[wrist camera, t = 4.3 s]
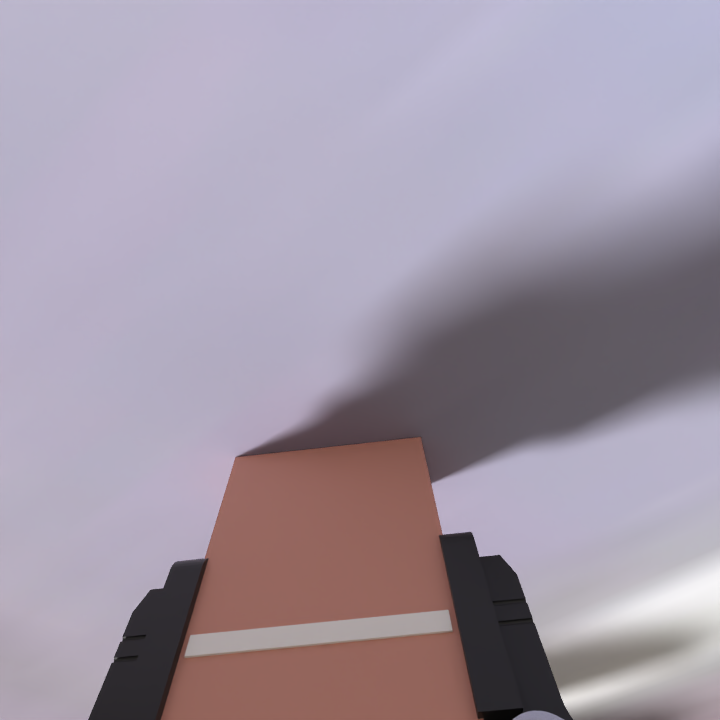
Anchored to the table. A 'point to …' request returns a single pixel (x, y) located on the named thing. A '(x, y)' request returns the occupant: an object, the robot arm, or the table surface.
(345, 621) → the domino
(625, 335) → the table surface
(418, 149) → the table surface
